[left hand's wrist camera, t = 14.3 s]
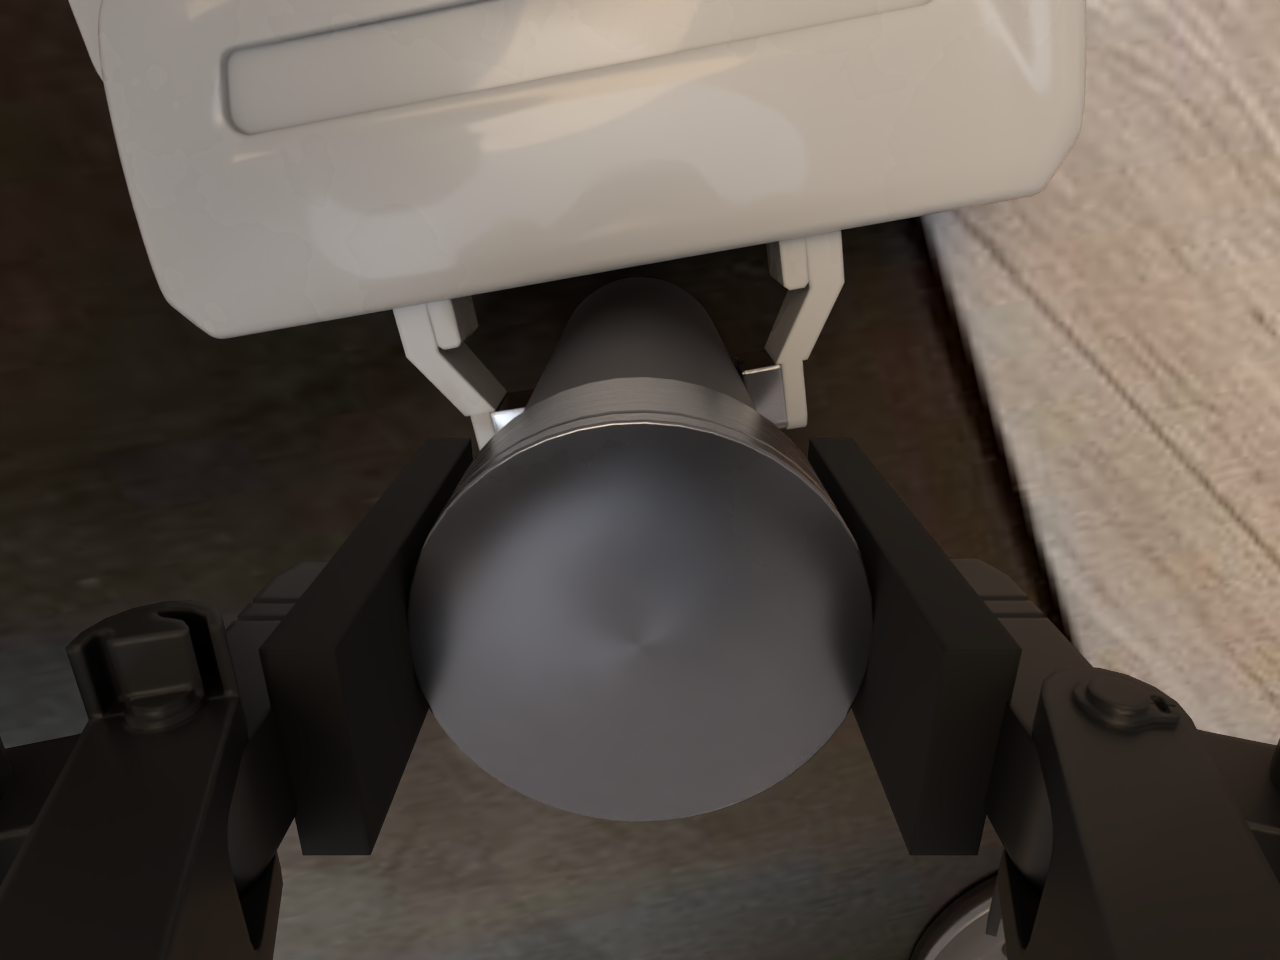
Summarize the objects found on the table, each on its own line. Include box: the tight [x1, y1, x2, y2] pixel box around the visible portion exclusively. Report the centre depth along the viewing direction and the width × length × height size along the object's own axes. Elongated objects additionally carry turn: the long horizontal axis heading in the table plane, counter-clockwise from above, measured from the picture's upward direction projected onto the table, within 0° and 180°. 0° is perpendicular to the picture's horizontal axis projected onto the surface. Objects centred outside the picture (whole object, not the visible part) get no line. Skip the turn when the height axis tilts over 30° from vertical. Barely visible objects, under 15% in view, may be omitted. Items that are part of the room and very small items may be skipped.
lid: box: [406, 377, 874, 822], centre depth 11 cm, size 6×6×2 cm
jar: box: [524, 277, 757, 411], centre depth 18 cm, size 5×5×16 cm
